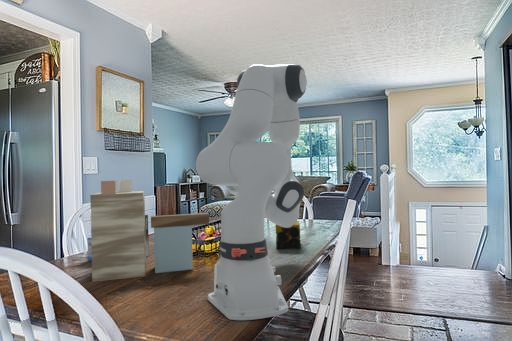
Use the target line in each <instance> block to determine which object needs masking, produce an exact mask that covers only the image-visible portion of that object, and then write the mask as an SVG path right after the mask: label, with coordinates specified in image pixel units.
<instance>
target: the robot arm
mask: <svg viewBox="0 0 512 341" xmlns="http://www.w3.org/2000/svg"><path fill="white" fill-rule="evenodd" d="M236 79H237V81H236V88H237V89H236V93H235V96H234V100H233V104H232V107H231V112H230V114H229V118H228V120H227V122H226V124H225V126H224V127H223V129H222V130H221V131H220V133H219V135H217V137H216V138H215V139H214V140H213V141H212V142H211V143H210V144H209V145H208V146H206V147H204V148H203V149H202V150H201V151H199V153H198V155H197V158H196V161H195V169H196V172H197V175H198V177H199V179H201V181H202V182H204V183H205V184H206V183H207V184H209V185H214V186H217V187H218V186H220V187H222V186H223V187H225V188H227V189H228V192H229V193H230V194H231V195H233V196H235V198H234V199H233V200H231V201H230V202H228V203H226V204H225V206H224V207H223V208H222V210H221V212H220V225H221V226H220V230H221V231H220V232H221V233H220V236H221V239H220V240H219V255H220V258H219V260H218V261H217V262H216V263H215V264H214V270H213V271H214V275H213V276H214V277H213V280H214V282H213V292H210V293H208V294H207V300H208V301H209V302H210V303H211V304H212V305H213V307H215V308H216V309H218V311H220V313H222V315H224V316H225V317H226V318H227V319H229V320H232V321H233V320H234V321H251V320H261V319H265V318H266V319H267V318H272V317H276V316H279V315H283V314H285V313H287V312H289V306H288V304H287V301H286V299H285V297H284V295H283V293H282V290H281V288H280V286H281V285H282V282H283V281H282V276H281V275H280V274H277V275H276V274H275V273H276V267H275V266H272V262H271V259H270V258H269V257H268V254H269V252H268V244H267V240H266V238H265V219H266V220H267V221H269V222H271V223H273V224H275V226H276V225H279V226H281V227H284V228H289V227H291V226H293V225H294V224H295V223H296V222H297V221H299V218H300V207H301V202H302V201H303V199H304V196H305V189H304V186H303V185H302V184H301V183H300V181H299V180H298V179H297V177H296V175H295V173H294V171H293V169H292V147H293V145H294V144H295V142H296V141H298V139H299V137H300V129H301V122H300V120H301V119H300V111H299V105H298V104H299V103H298V101H299V99H301V98H302V97H303V95H304V94H305V93H306V89H307V85H308V84H307V82H308V81H307V76H306V72H305V70H304V68H303V67H302V66H301V65H300V64H295V63H289V64H274V65H265V64H259V63H258V64H252V65H250V66H248V67H247V68H246V69H243V70H242V71H241V72H240V74H239V75H238V77H237V78H236ZM267 133H268V134H269V138H270V141H271V142H268V141H258V140H259V139H261V138H262V137H263V136H265V135H266V134H267Z"/></svg>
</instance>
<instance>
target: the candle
mask: <svg viewBox="0 0 512 341" xmlns="http://www.w3.org/2000/svg"><path fill="white" fill-rule="evenodd" d="M275 234H276V237H275V247H276V248H275V249H278V250H291V249H292V250H294V249H295V250H297V249H301V226H300V221H299V220H297V222H296V223H295V224H294V225H293V226H291V227H289V228H284V227H281V226H279V225H276V224H275Z"/></svg>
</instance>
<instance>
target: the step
mask: <svg viewBox="0 0 512 341" xmlns="http://www.w3.org/2000/svg"><path fill="white" fill-rule="evenodd" d="M153 235H154V236H153V238H154V239H153V242H154V243H153V244H154V246H153V247H154V274H160V273H161V274H162V273H169V272H180V271H187V270H189V271H190V270H193V269H194V261H193V258H194V256H193V225H187V226H172V227H157V228H153Z"/></svg>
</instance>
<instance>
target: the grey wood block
mask: <svg viewBox="0 0 512 341" xmlns="http://www.w3.org/2000/svg"><path fill="white" fill-rule="evenodd" d="M89 198H90V199H89V200H90V234H91V235H90V237H91V245H92V261H91V278H92V281H91V282H92V283H93V282H94V283H95V282H106V281H113V280H114V281H115V280H124V279H132V278H141V277H143V278H144V277H145V276H146V267H147V257H146V242H145V215H146V210H145V209H146V208H145V206H146V205H145V191H144V190H138V191H137V190H135V191H134V190H132V192H118V191H117V193H116V194H101V192H96V193H91V194H90V195H89Z"/></svg>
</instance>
